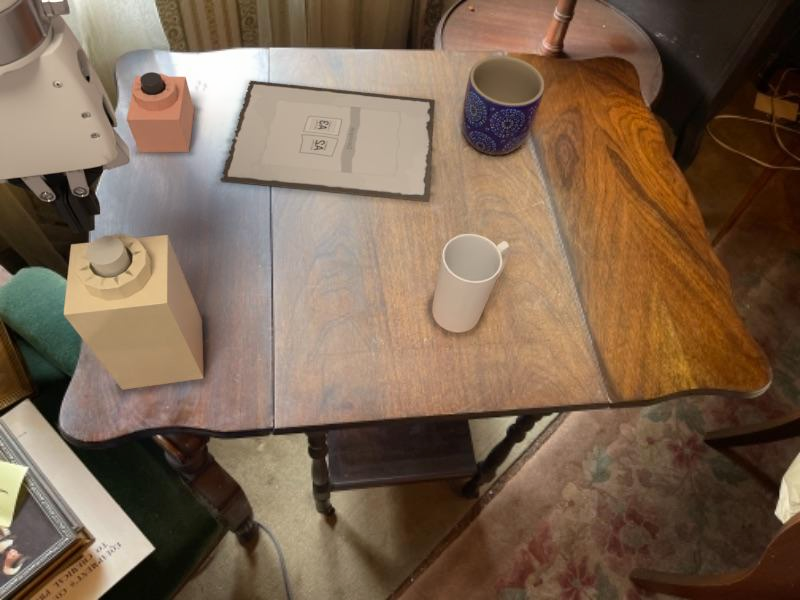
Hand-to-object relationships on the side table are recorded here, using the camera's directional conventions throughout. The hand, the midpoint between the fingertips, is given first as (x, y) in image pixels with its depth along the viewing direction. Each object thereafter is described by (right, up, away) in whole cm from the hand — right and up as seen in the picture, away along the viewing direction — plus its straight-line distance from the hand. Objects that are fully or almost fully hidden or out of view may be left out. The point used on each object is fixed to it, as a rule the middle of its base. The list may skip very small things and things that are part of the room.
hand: (84, 218), depth 51 cm
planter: (+41, +18, +45) cm, 63 cm away
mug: (+35, -8, +28) cm, 45 cm away
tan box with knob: (-2, -13, +21) cm, 25 cm away
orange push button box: (-8, +19, +40) cm, 45 cm away
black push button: (-8, +23, +34) cm, 41 cm away
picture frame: (+16, +18, +42) cm, 48 cm away
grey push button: (0, -3, +5) cm, 6 cm away
